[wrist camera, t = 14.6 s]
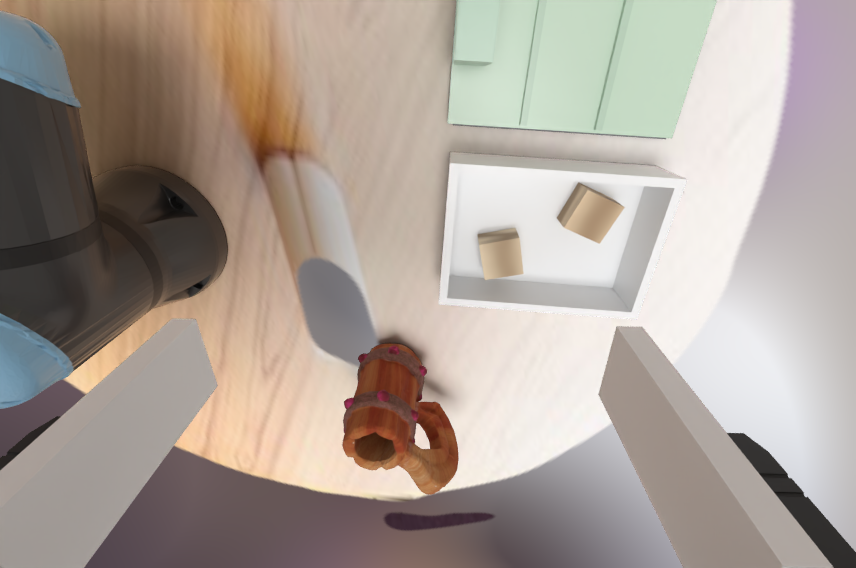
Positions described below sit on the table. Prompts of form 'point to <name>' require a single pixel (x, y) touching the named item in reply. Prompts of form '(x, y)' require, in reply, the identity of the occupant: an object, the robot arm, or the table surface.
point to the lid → (576, 64)
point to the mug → (398, 420)
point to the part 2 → (589, 213)
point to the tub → (554, 234)
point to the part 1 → (500, 253)
